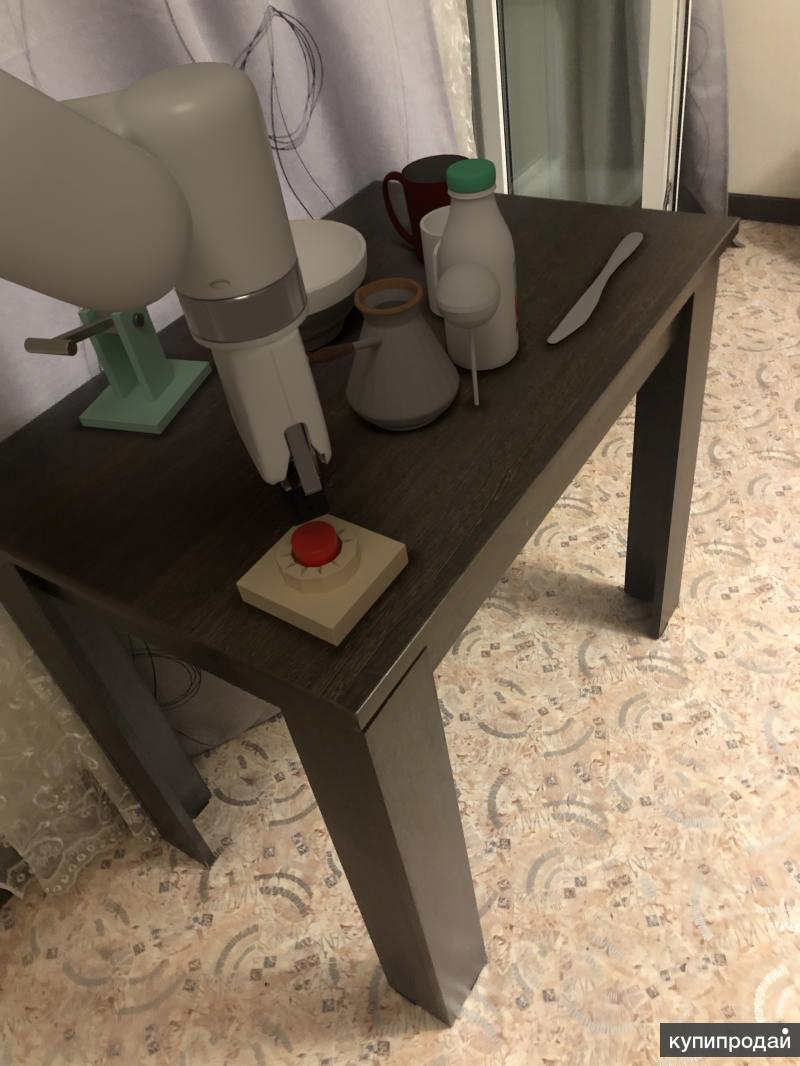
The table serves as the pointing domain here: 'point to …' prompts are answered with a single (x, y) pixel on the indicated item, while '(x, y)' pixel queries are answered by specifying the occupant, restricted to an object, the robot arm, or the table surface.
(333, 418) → the table surface
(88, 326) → the lever handle
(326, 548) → the button
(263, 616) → the table surface
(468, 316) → the lollipop
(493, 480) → the table surface
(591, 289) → the butter knife
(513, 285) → the milk bottle
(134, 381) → the green lever stand
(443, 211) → the cup
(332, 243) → the bowl
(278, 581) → the block
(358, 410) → the coffee pot
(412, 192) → the mug
